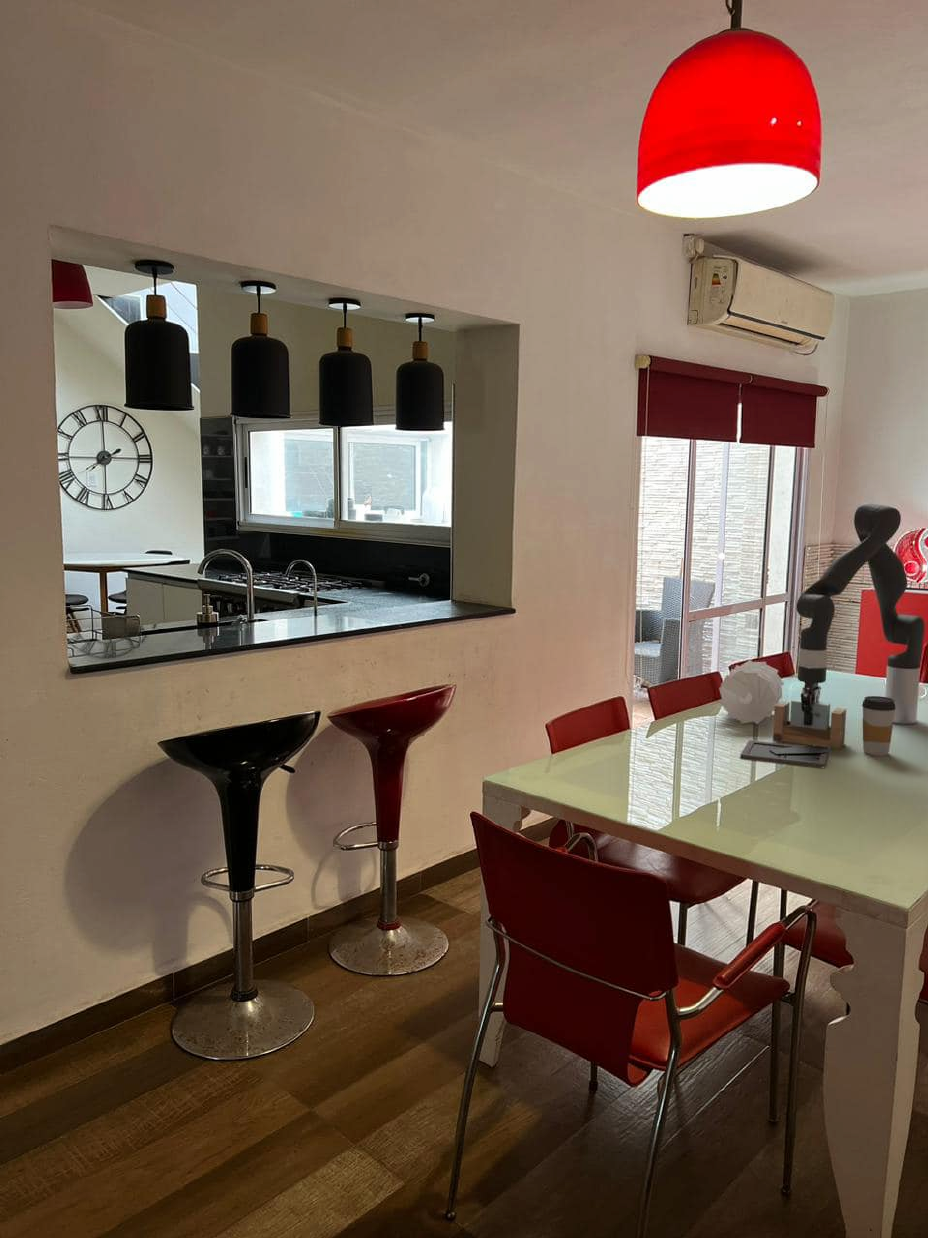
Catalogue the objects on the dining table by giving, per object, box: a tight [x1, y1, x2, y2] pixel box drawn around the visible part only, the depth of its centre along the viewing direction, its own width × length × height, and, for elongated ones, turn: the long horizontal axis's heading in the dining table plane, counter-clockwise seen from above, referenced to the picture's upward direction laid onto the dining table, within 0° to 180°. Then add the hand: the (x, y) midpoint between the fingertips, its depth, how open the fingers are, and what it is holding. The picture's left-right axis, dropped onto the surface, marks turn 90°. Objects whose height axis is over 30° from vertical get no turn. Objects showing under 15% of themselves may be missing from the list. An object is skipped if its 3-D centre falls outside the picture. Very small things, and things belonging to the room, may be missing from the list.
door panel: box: [789, 698, 831, 731], centre depth 257 cm, size 4×10×8 cm, turn 56°
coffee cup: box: [861, 695, 896, 757], centre depth 246 cm, size 8×8×15 cm
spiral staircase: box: [718, 659, 785, 725], centre depth 285 cm, size 18×18×25 cm
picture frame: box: [739, 739, 830, 768], centre depth 245 cm, size 16×2×21 cm
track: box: [772, 700, 847, 750], centre depth 258 cm, size 7×18×10 cm, turn 56°
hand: (809, 723), depth 258 cm, fingers closed on door panel, 3 cm apart
